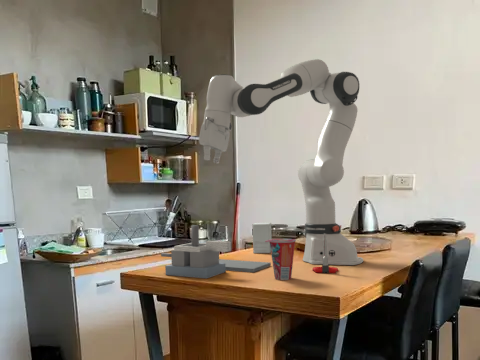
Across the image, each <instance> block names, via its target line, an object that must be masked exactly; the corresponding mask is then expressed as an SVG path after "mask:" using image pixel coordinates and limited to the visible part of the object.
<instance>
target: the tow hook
mask: <svg viewBox="0 0 480 360" xmlns="http://www.w3.org/2000/svg"><path fill="white" fill-rule="evenodd" d="M323 256H324V257H323V264H321V266H314V267H312V271H313V272H315V273H316V274H336V273H337V272H338V271H339V268H338V267H334V266H329V265H330V264H328V257H327V240H326V234H324V240H323Z"/></svg>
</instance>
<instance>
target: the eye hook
mask: <svg viewBox="0 0 480 360" xmlns="http://www.w3.org/2000/svg"><path fill="white" fill-rule="evenodd" d="M173 250H174V251H188V252H203V251H219V252H221V253H222V252H223V253H228V252H232V242H231V241H226V240H225V241H224V240H208V241H207V240H206V241H205V243H203V242H199V247H193V246H192V242H189V243H184V244H183V243H182V244H179V245H174V246H173Z"/></svg>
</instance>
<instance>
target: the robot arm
mask: <svg viewBox="0 0 480 360" xmlns="http://www.w3.org/2000/svg"><path fill="white" fill-rule="evenodd" d="M309 92H310V95H311V97H312V99H313V100H314V101H315V102H316V103H318V104H321V105H326V104H327V105H329V109H328V114H327V116H326V118H325V121H324V123H323V125H322V128H321V131H320V132H319V135H318V138H317V151H316V154H315V157H314V158H313V159H308V160H306V161H304V162H303V163H302V164H301V165H300V166H299V168H298V170H297V176H298V179H299V181H300V183H301V187H302V191H303V196H304V202H305V224H304V235H305V236H304V237H305V243H304V244H305V246H304V253H303V257H302V261H303V262H305V263H309V264H312V265H323V257H324V256H323V240H324V234H326V240H327V257H328V265H337V266H340V265H341V266H354V265H360V264H362V263H363V262H364V258H363V257H360V256H358V252H357V251H358V250H357V247H356V245H355V244H354V242H352V241H351V240H350V239H348V238H347V237H346V236H344V235H343V234H342V233H341V231H342V225H340V224H338V223H336V203H335V199H333V196H332V193H331V189H330V187H333V186H335V185H336V184H338V183H340V182H341V180H342V179H343V178H344V173H345V171H344V170H345V169H344V166H343V162H344V156H345V152H346V148H347V145H348V143H349V140H350V137H351V135H352V132H353V129H354V128H355V124H356V121H357V116H358V107H357V105H356V104H355V102H356V101H357V99H358V95H359V92H360V81H359V77H357V75H356V74H355V73H353V72H351V71H341V72H333V73H331V72H330V70H329V67H328V65H327V63H326V62H325V61H323V60H321V59H318V58H317V59H309V60H305V61H302V62H299V63H296V64H294V65H291V66H290V67H288V68H286V69H285V70H283V71H282V72H281V74H280V76H279V78H278V79H276V80H272V81H271V82H268V83H266V84H265V83H264V84H263V83H262V84H261V83H250V84H248V85H245V87H243V86H242V85H241V84H239V83H238V81H236V80H235V78H234V76H232V75H230V74H227V73H226V74H223V73H222V74H217V75H213V76H212V77H211V79H210V80H209V83H208V87H207V93H206V107H205V109H204V113H203V114H204V116H203V121H202V123H201V126H200V132H199V136H198V137H199V138H198V143H199V145H201V146H203V160H204V161H211V149H212V150H214V157H213V158H212V162H213V164H220V159H221V156H222V153H224V152H226V153H227V150H228V147H229V143H230V136H231V134H230V133H231V131H232V130H233V125H232V122H231V115H232V116H234V117H237V118H244V117H249V116H255V115H261V114H262V113H264V112H265V111H266V110H268V108H269V107H270V106H271V105H272V103H274V102H275V101H278V100H281V99H283V98H285V97H290V98H293V97H299V96H302V95H306V94H307V93H309Z"/></svg>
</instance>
